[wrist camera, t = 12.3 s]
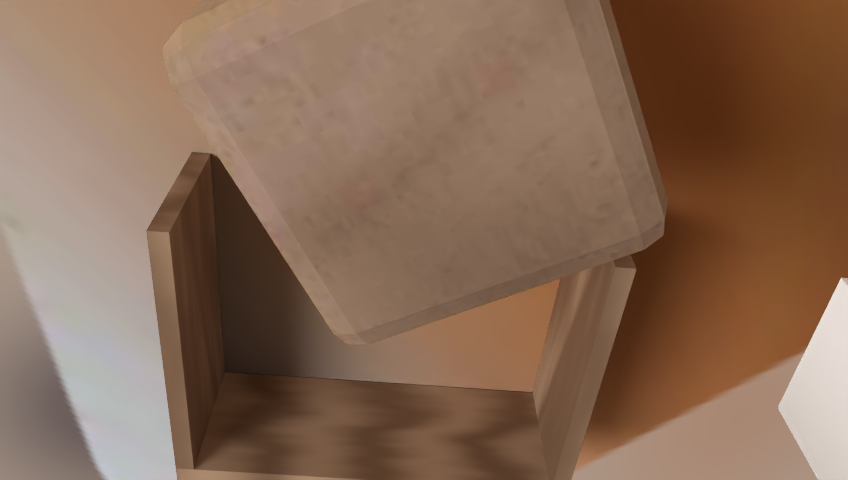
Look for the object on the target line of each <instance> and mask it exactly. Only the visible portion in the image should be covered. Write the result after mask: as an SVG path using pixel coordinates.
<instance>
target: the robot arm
mask: <svg viewBox="0 0 848 480" xmlns="http://www.w3.org/2000/svg"><path fill="white" fill-rule="evenodd" d="M778 409H779V411H780V413H781V414H782V416H783V417H784V420H785V422H786V423H787V425H788V427H789V428H790V430H791V432H792V434H793V436H794V438H795V439H796V441H797V443H798V445H799V447H800V448H801V450H802V452H803V454H804V455H805V457H806V459H807V461H808V462H809V464H810V466H811V468H812V470H813V472H814V473H815V475H816V477H817V479H818V480H848V278H841V279H840V281H839V283H838V285H837V287H836V289H835V291H834V293H833V296H832V298H831V300H830V302H829V304H828V306H827V308H826V310H825V312H824V314H823V316H822V318H821V320H820V322H819V324H818V326H817V328H816V330H815V332H814V334H813V336H812V339H811V341H810V343H809V345H808V347H807V349H806V351H805V353H804V355H803V357H802V359H801V361H800V363H799V365H798V367H797V369H796V371H795V373H794V375H793V377H792V379H791V382H790V384H789V386H788V388H787V390H786V392H785V394H784V396H783V398H782V400H781V402H780V404H779V406H778Z"/></svg>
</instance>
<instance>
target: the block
mask: <svg viewBox="0 0 848 480" xmlns="http://www.w3.org/2000/svg"><path fill="white" fill-rule="evenodd" d="M163 58H164V62H165V65H166V68H167V72H168V75H169V79H170V82H171V85H172V87H173V88H174V90H175V91H176V93H177V94H178V96H179V97H180V99H181V100H182V102H183V104H184V105H185V107H186V108H187V110H188V111H189V113H190V114H191V116H192V117H193V119H194V120H195V122H196V123H197V125H198V127H199V128H200V130H201V131H202V133H203V134H204V136H205V137H206V139H207V140H208V142H209V143H210V145H211V147H212V148H213V150H214V151H215V153H216V154H217V156H218V157H219V159H220V160H221V162H222V163H223V165H224V166H225V168H226V170H227V171H228V173H229V174H230V176H231V177H232V179H233V180H234V182H235V183H236V185H237V186H238V188H239V190H240V191H241V193H242V194H243V196H244V197H245V199H246V200H247V202H248V203H249V205H250V206H251V208H252V209H253V211H254V213H255V214H256V216H257V217H258V219H259V220H260V222H261V223H262V225H263V226H264V228H265V229H266V231H267V232H268V234H269V236H270V237H271V239H272V240H273V242H274V243H275V245H276V246H277V248H278V249H279V251H280V252H281V254H282V256H283V257H284V259H285V260H286V262H287V263H288V265H289V266H290V268H291V269H292V271H293V272H294V274H295V275H296V277H297V279H298V280H299V282H300V283H301V285H302V286H303V288H304V289H305V291H306V292H307V294H308V295H309V297H310V298H311V300H312V302H313V303H314V305H315V306H316V308H317V309H318V311H319V312H320V314H321V315H322V317H323V318H324V320H325V322H326V323H327V325H328V326H329V328H330V329H331V331H332V332H333V334H334V335H335V336H337V337H338V338H339V339H341V340H342V341H344V342H345V343H346V344H370V343H373V342H376V341H379V340H382V339H385V338H388V337H391V336H394V335H397V334H399V333H402V332H405V331H408V330H411V329H414V328H417V327H420V326H423V325H426V324H429V323H432V322H435V321H437V320H440V319H443V318H446V317H449V316H452V315H455V314H458V313H461V312H464V311H467V310H470V309H472V308H475V307H478V306H481V305H484V304H487V303H490V302H493V301H496V300H499V299H502V298H505V297H508V296H510V295H513V294H516V293H519V292H522V291H525V290H528V289H531V288H534V287H537V286H540V285H543V284H546V283H548V282H551V281H554V280H557V279H560V278H563V277H566V276H569V275H572V274H575V273H578V272H581V271H584V270H586V269H589V268H592V267H595V266H598V265H601V264H604V263H607V262H610V261H613V260H616V259H619V258H621V257H624V256H627V255H630V254H633V253H636V252H639V251H642V250H645V249H646V248H647V247H649V246H650V245H651V244H653V243H654V242H656V241H657V240H658V239H660V238H661V237H662V236H664V223H665V216H666V210H667V205H668V199H667V195H666V192H665V189H664V185H663V182H662V178H661V175H660V171H659V168H658V165H657V161H656V158H655V154H654V151H653V148H652V144H651V141H650V137H649V134H648V130H647V127H646V124H645V120H644V117H643V113H642V110H641V107H640V103H639V100H638V96H637V93H636V89H635V86H634V83H633V79H632V76H631V72H630V69H629V66H628V62H627V59H626V55H625V52H624V49H623V45H622V42H621V38H620V35H619V31H618V28H617V25H616V21H615V18H614V14H613V11H612V8H611V4H610V1H609V0H202V1H201V3H200V4H199V5H198V6H197V7H196V8H195V9H194V10H193V11H192V13H191V14H190V15H189V16H188V17H187V18H186V19H185V20H184V21H183V22H182V24H181V25H180V26H179V27H178V29H177V30H176V31H175V32H174V34H173V35H172V36H171V38H170V39H169V40H168V41H167V43H166V44H165V45H164V46H163Z"/></svg>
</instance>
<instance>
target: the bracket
mask: <svg viewBox="0 0 848 480" xmlns="http://www.w3.org/2000/svg"><path fill="white" fill-rule="evenodd" d="M147 239H148V247H149V255H150V263H151V271H152V279H153V288H154V296H155V304H156V312H157V320H158V328H159V336H160V344H161V352H162V360H163V368H164V376H165V384H166V392H167V400H168V408H169V416H170V424H171V432H172V440H173V448H174V456H175V465H176V473H177V480H571V479H572V475H573V472H574V469H575V466H576V463H577V460H578V456H579V453H580V450H581V447H582V443H583V440H584V437H585V434H586V431H587V427H588V424H589V421H590V418H591V414H592V411H593V408H594V405H595V402H596V398H597V395H598V392H599V389H600V385H601V382H602V379H603V376H604V373H605V369H606V366H607V363H608V360H609V356H610V353H611V350H612V347H613V344H614V340H615V337H616V334H617V331H618V327H619V324H620V321H621V318H622V315H623V311H624V308H625V305H626V302H627V298H628V295H629V292H630V289H631V286H632V282H633V279H634V276H635V273H636V269H637V268H636V266H635V264H634V262H633V259H632V257H631V255H627V256H624V257H621V258H619V259H616V260H613V261H610V262H607V263H604V264H601V265H598V266H595V267H592V268H589V269H586V270H584V271H581V272H578V273H575V274H572V275H569V276H566V277H563V278H561V279H560V283H559V288H558V292H557V296H556V300H555V304H554V308H553V312H552V316H551V320H550V324H549V328H548V333H547V337H546V341H545V345H544V349H543V353H542V357H541V361H540V365H539V369H538V373H537V378H536V382H535V386H534V390H533V393H530V392H515V391H500V390H485V389H470V388H455V387H440V386H425V385H410V384H395V383H380V382H366V381H351V380H336V379H321V378H306V377H291V376H276V375H261V374H246V373H231V372H225V369H224V353H223V338H222V322H221V307H220V291H219V275H218V260H217V244H216V229H215V213H214V198H213V182H212V167H211V154H206V153H194V152H192V153H191V155H190V157H189V158H188V160H187V162H186V164H185V165H184V167H183V169H182V170H181V172H180V174H179V176H178V177H177V179H176V181H175V182H174V184H173V186H172V188H171V189H170V191H169V193H168V195H167V196H166V198H165V200H164V201H163V203H162V205H161V207H160V208H159V210H158V212H157V214H156V215H155V217H154V219H153V220H152V222H151V224H150V226H149V227H148V229H147Z"/></svg>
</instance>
